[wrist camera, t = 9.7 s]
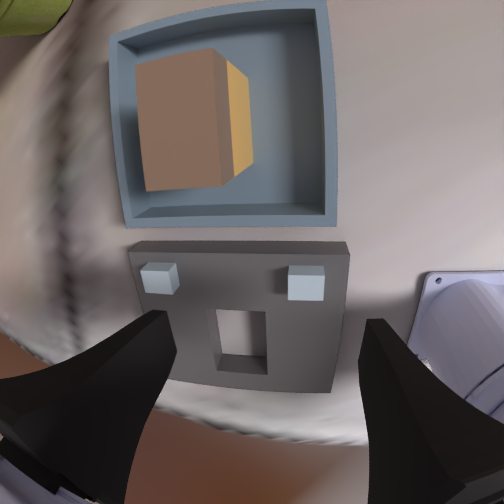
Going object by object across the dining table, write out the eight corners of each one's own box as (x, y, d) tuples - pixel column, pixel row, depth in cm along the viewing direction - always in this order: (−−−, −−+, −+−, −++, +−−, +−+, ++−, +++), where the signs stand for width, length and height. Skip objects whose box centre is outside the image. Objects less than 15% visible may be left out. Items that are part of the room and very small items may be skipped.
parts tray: (322, 18, 13) (326, -1, 10) (331, 210, 17) (336, 226, 15) (134, 45, 15) (109, 36, 12) (148, 213, 19) (126, 228, 17)
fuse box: (345, 241, 18) (353, 264, 15) (329, 375, 23) (330, 404, 20) (141, 240, 20) (118, 259, 17) (172, 363, 25) (159, 387, 22)
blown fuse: (248, 78, 14) (212, 47, 8) (253, 163, 16) (221, 186, 10) (197, 84, 15) (134, 64, 9) (203, 165, 17) (146, 191, 10)
